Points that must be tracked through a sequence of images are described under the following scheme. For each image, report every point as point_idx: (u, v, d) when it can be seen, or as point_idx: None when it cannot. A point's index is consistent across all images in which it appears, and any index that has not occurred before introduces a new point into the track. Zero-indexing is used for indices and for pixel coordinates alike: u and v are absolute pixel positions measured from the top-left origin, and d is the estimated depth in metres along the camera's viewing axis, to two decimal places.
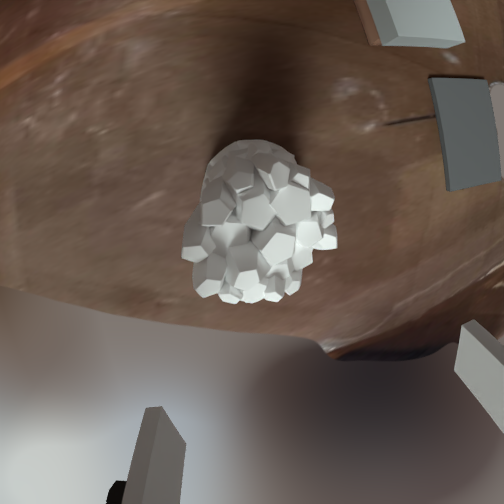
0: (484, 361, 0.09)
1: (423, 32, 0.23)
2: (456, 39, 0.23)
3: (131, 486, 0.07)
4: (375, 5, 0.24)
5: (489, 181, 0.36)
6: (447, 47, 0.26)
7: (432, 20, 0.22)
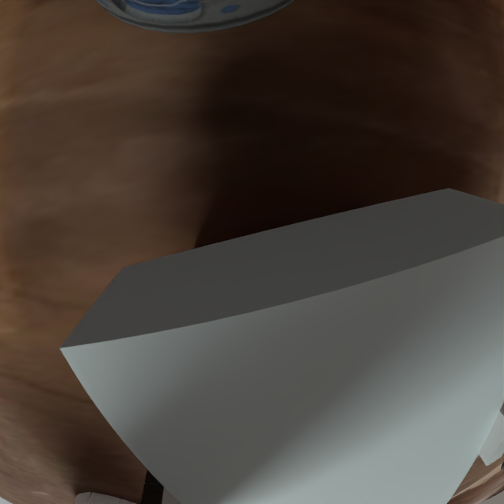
0: None
1: None
2: None
3: None
4: None
5: None
6: None
7: None
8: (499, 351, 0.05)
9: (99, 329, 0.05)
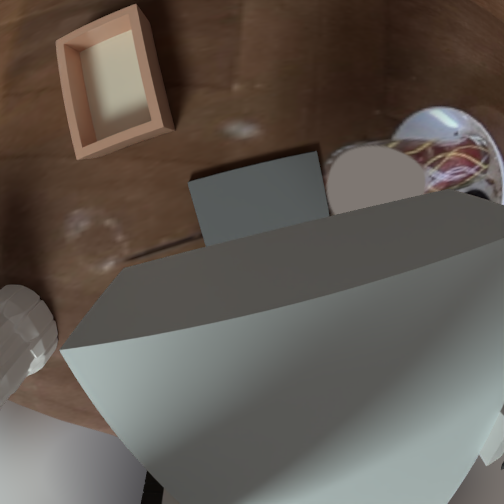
0: None
1: None
2: None
3: None
4: None
5: None
6: None
7: None
8: (500, 352, 0.05)
9: (99, 330, 0.05)
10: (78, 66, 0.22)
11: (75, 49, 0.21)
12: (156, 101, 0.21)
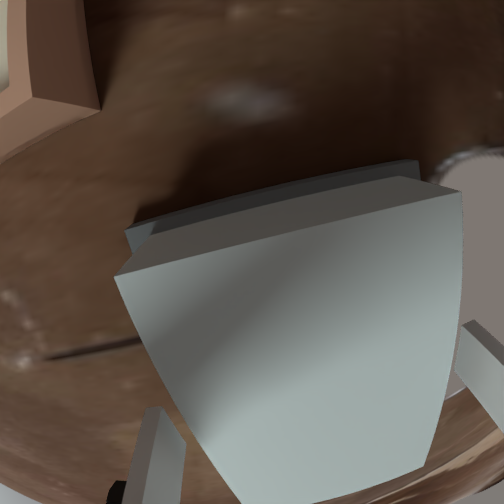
0: (484, 361, 0.09)
1: (313, 499, 0.12)
2: (400, 474, 0.12)
3: (131, 486, 0.07)
4: None
5: None
6: None
7: (349, 477, 0.12)
8: (434, 294, 0.08)
9: (142, 263, 0.08)
10: None
11: None
12: (25, 35, 0.05)
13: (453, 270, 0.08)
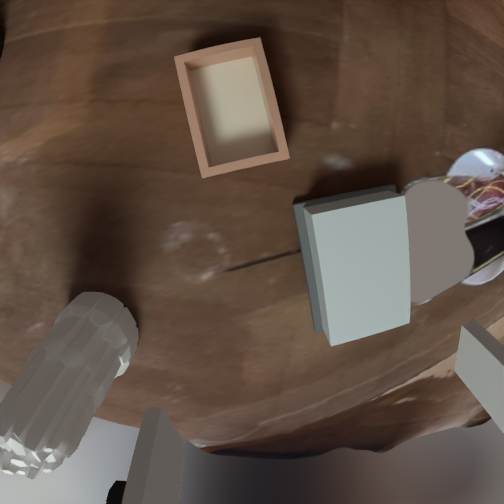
0: (484, 361, 0.09)
1: (360, 333, 0.33)
2: (399, 325, 0.33)
3: (131, 486, 0.07)
4: (321, 300, 0.34)
5: None
6: None
7: (376, 316, 0.32)
8: (398, 226, 0.29)
9: (317, 212, 0.29)
10: (192, 85, 0.27)
11: (188, 68, 0.26)
12: (283, 134, 0.26)
13: (403, 219, 0.29)
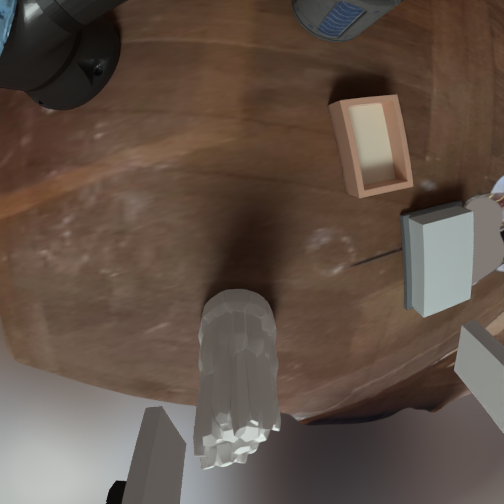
0: (484, 361, 0.09)
1: (441, 307, 0.42)
2: (463, 300, 0.42)
3: (131, 486, 0.07)
4: (416, 284, 0.43)
5: None
6: None
7: (451, 294, 0.42)
8: (468, 232, 0.38)
9: (425, 223, 0.38)
10: None
11: None
12: (410, 169, 0.35)
13: (471, 227, 0.38)
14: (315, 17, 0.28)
